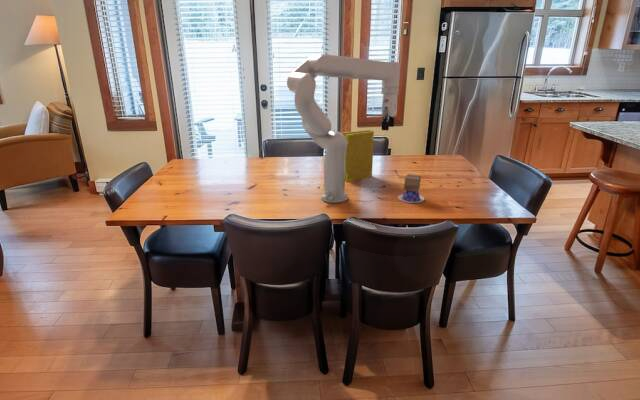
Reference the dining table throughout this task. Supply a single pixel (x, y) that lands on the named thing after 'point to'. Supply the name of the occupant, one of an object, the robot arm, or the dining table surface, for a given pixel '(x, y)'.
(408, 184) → the walnut cube
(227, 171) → the dining table surface
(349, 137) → the book
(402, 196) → the pudding
